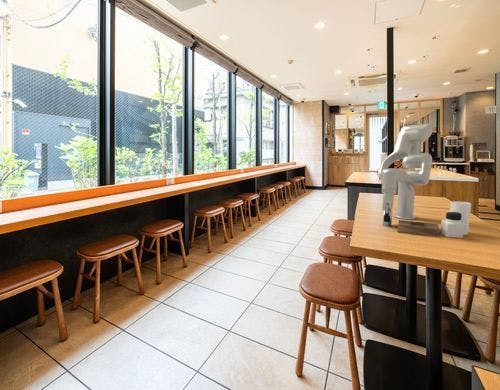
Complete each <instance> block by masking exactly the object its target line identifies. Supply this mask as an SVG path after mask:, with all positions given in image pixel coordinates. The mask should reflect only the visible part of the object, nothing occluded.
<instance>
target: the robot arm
mask: <svg viewBox="0 0 500 390" xmlns="http://www.w3.org/2000/svg"><path fill="white" fill-rule="evenodd" d="M432 134H433V126H432V124H430V123H422V124H412V125H411V124H410V125H409V124H408V125H404V126H402V127H401V128H400V131H399V133H398V134H397V137H396V141H395V144H394V148H393V152H392V153H390V154H389V155H388V156H387V157H386V158H385V159H384V160H383V161H382V163H381V165H380V169H379V179H380V180H381V194H382V204H381V205H382V206H381V210H382V211H383V210H385V212H384V222H390V211H391V210H392V211H393V206H394V199H395V198H394V197H395V195H396V194H397V199H396V213H394V214H393V217H394V218H396V219H399V220H400V219H401V220H416V218H417V216H415V215H414V209H415V208H414V207H415V197H416V196H415V195H416V192H415V189H414V187H413V186H426V185H427V184H428V183H429V182H430V176H431V172H432V171H431V170H432V166H433V157H432V155H431V154H430V153H428V152H420V150H421V145H420V144H421V143H424V142H426V141H427V140H428V139H429V138H430V137H431V135H432ZM400 160H402V162H401V163H402V167H403V168H406V169H403V168H390V166H391V165H392V164H393V163H395V162H398V161H400ZM388 211H389V212H388Z"/></svg>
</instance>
